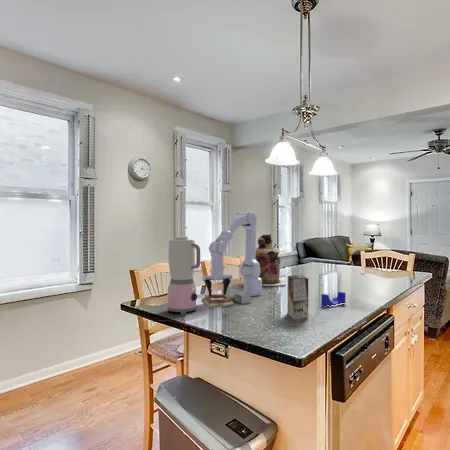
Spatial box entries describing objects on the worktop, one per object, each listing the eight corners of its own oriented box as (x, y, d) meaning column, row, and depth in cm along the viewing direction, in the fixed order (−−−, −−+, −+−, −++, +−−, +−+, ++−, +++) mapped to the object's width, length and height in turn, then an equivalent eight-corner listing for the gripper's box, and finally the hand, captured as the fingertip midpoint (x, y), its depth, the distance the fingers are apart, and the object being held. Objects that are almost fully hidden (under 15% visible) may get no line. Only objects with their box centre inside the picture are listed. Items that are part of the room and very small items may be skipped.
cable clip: (337, 303, 161) (337, 291, 161) (345, 305, 157) (345, 292, 157) (319, 306, 155) (319, 293, 155) (326, 308, 151) (326, 295, 151)
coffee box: (309, 319, 134) (309, 278, 134) (293, 319, 133) (293, 278, 133) (301, 313, 143) (301, 275, 143) (286, 313, 142) (286, 275, 142)
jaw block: (243, 300, 168) (243, 292, 168) (250, 303, 161) (250, 295, 161) (234, 301, 166) (234, 293, 166) (241, 304, 159) (241, 296, 159)
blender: (161, 312, 144) (161, 237, 144) (179, 306, 155) (179, 236, 155) (190, 317, 136) (190, 237, 136) (208, 311, 146) (208, 236, 146)
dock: (225, 298, 172) (225, 293, 172) (234, 305, 156) (234, 299, 156) (202, 299, 169) (202, 294, 169) (208, 307, 153) (208, 301, 153)
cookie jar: (247, 280, 230) (247, 232, 230) (284, 280, 227) (284, 232, 227) (244, 286, 206) (244, 233, 206) (286, 287, 202) (286, 233, 202)
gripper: (229, 265, 168) (229, 292, 168) (200, 266, 164) (200, 294, 164) (233, 266, 162) (233, 295, 162) (203, 267, 158) (203, 297, 158)
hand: (217, 295), depth 162 cm, fingers open, 7 cm apart
